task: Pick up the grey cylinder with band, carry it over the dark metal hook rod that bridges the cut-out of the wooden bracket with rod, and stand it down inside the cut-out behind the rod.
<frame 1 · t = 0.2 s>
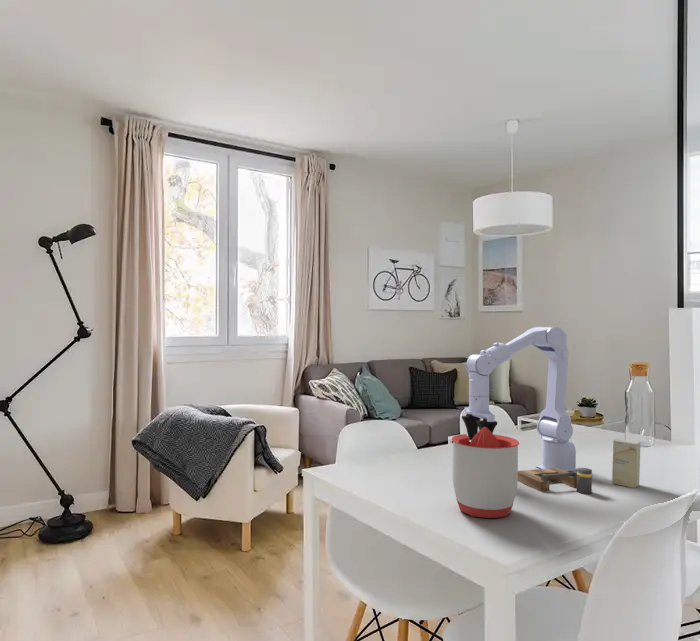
hand: (478, 442, 160), 10 cm above the table, tool pointing down, fingers open, 7 cm apart
wooden bracket with rod: (548, 483, 154), on the table
skincare box: (626, 485, 154), on the table
grey cylinder with band: (584, 492, 147), on the table
citrus juicer: (483, 510, 132), on the table
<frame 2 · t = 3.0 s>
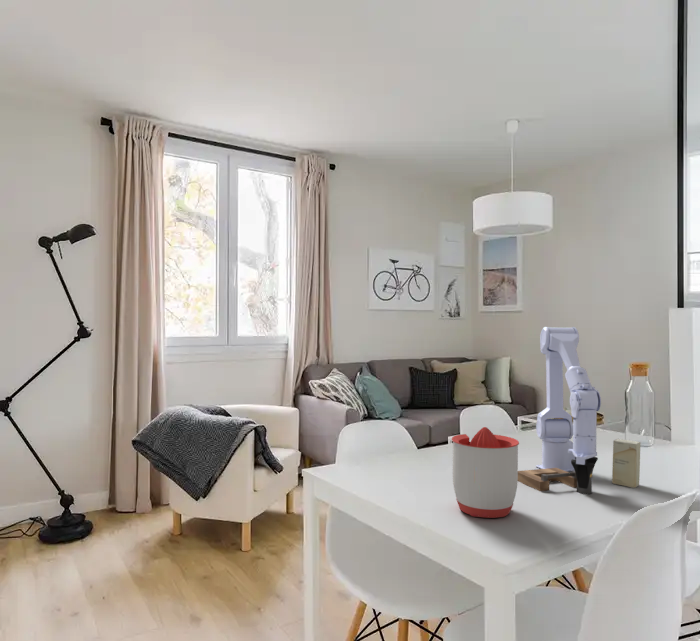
hand: (584, 485, 147), 2 cm above the table, tool pointing down, fingers closed on grey cylinder with band, 4 cm apart
grey cylinder with band: (584, 492, 147), on the table, touching gripper
everything else where it was.
when the fingers open (3 cm above the table, at t = 6.0 s): grey cylinder with band drops 1 cm, on the table.
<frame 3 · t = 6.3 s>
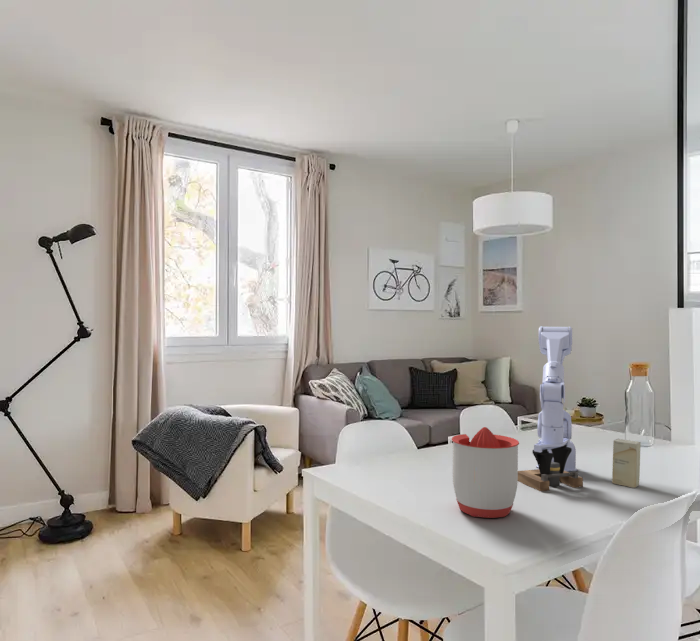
hand: (552, 474, 153), 3 cm above the table, tool pointing down, fingers open, 6 cm apart
grey cylinder with band: (552, 485, 153), on the table
everything else where it was.
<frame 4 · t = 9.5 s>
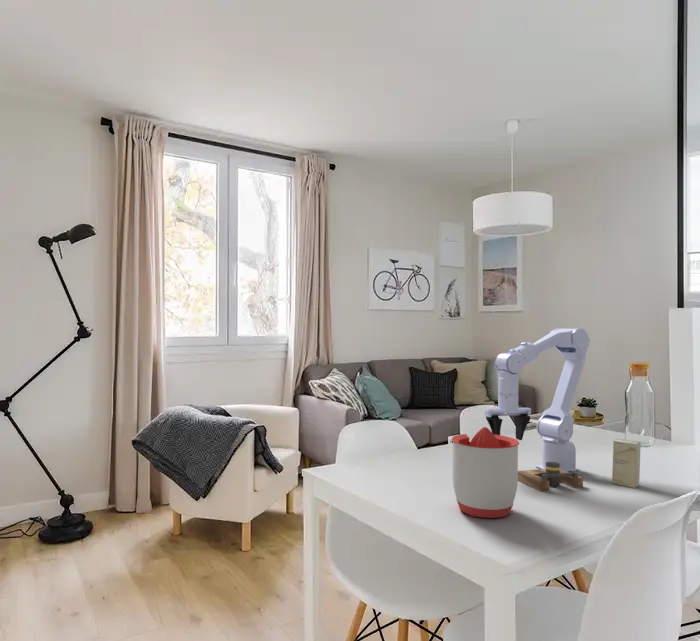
hand: (507, 440, 162), 10 cm above the table, tool pointing down, fingers open, 7 cm apart
nothing on the table moved.
at the end: grey cylinder with band 0.4 cm from the target spot on the wooden bracket with rod, point 0.0 cm above the wooden bracket with rod's base; grey cylinder with band tilted 0°; the gripper is holding nothing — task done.
